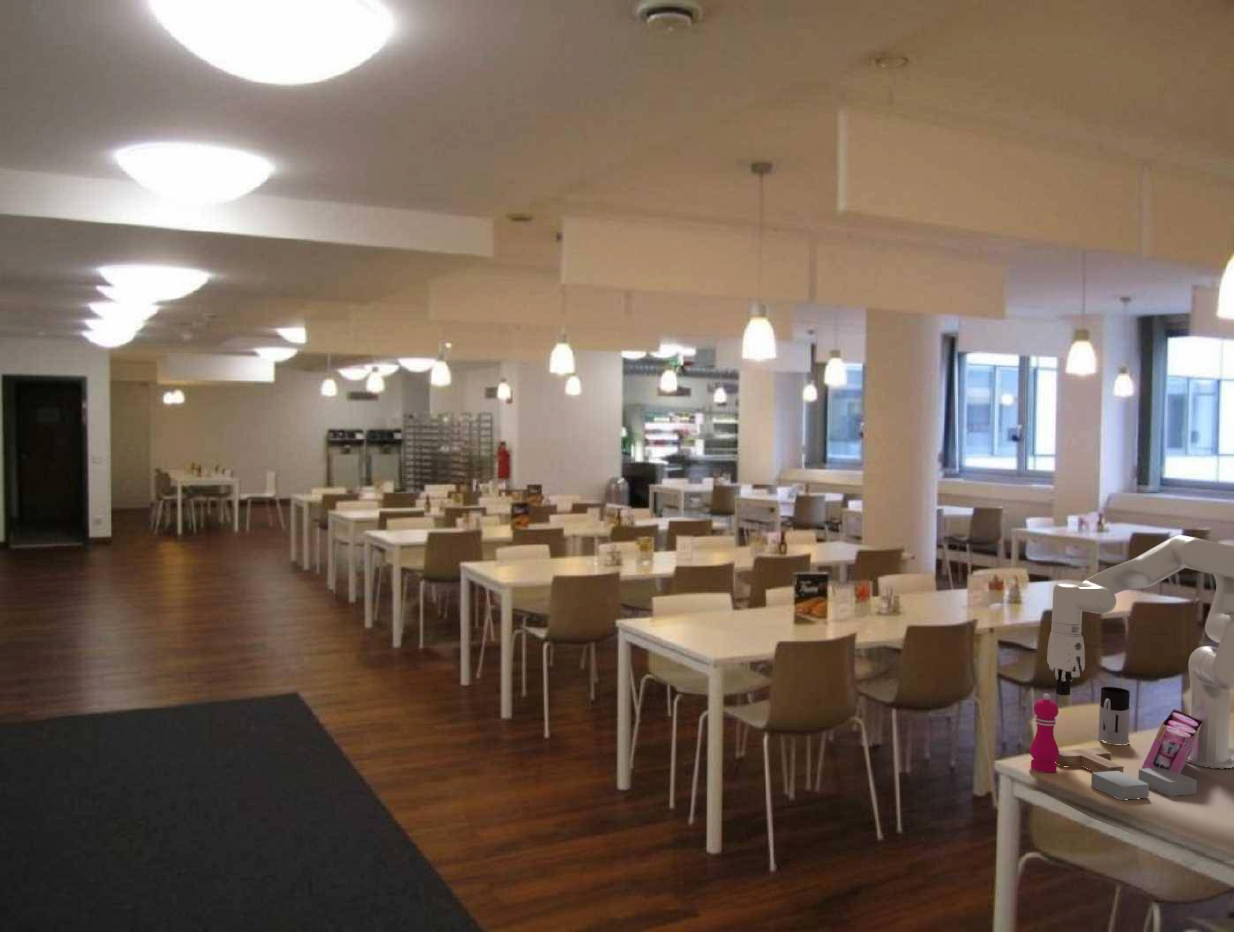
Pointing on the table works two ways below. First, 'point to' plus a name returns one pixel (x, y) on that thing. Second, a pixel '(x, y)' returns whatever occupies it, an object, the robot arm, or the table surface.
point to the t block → (1089, 759)
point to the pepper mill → (1044, 736)
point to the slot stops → (1143, 783)
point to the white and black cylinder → (1114, 715)
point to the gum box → (1173, 742)
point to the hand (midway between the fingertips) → (1063, 694)
